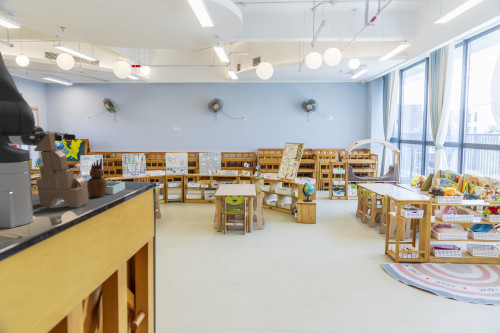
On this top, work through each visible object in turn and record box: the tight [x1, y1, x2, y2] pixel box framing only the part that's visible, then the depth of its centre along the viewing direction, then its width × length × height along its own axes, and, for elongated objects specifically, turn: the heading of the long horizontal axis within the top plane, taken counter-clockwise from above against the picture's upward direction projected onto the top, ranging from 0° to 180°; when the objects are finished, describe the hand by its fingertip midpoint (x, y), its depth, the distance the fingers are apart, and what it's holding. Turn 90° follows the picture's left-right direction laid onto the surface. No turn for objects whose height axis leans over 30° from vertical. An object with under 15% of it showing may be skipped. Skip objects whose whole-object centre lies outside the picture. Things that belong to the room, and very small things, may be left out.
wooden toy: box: [33, 131, 90, 209], centre depth 106 cm, size 16×7×25 cm, turn 85°
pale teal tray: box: [87, 181, 126, 195], centre depth 134 cm, size 12×12×3 cm
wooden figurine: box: [86, 157, 108, 198], centre depth 122 cm, size 7×6×15 cm
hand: (68, 137), depth 120 cm, fingers open, 8 cm apart
